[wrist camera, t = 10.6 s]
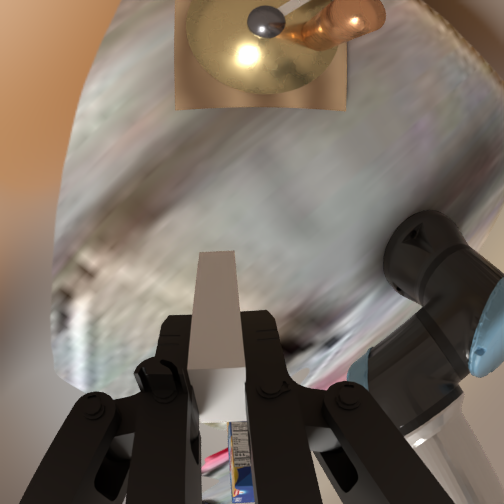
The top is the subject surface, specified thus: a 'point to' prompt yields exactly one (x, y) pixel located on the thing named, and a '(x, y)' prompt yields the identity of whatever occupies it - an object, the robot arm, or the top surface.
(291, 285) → the top surface
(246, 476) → the beverage box
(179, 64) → the levelling stand
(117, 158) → the top surface
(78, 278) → the top surface
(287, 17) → the disc
